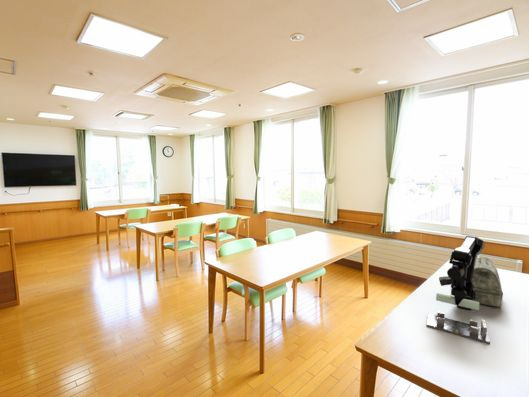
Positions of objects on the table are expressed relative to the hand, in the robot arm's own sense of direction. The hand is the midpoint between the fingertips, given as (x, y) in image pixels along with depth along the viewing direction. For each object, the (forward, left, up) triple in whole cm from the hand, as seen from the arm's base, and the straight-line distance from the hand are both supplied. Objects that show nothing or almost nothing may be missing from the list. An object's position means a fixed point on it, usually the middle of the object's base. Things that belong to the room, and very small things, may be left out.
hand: (456, 303), depth 141 cm
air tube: (0, 0, +1) cm, 1 cm away
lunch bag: (-34, +13, -8) cm, 37 cm away
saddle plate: (+13, 0, -7) cm, 15 cm away
